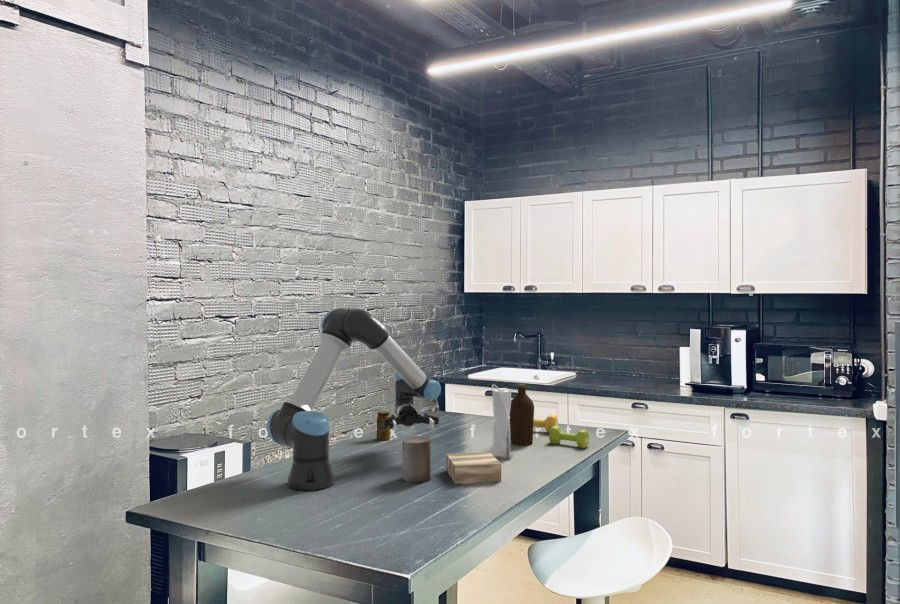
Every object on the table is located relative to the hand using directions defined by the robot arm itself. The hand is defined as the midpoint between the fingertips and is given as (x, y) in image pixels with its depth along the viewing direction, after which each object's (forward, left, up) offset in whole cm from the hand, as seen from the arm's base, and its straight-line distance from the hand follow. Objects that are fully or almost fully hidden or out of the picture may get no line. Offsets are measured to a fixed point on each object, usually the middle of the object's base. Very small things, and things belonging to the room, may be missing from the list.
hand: (414, 426), depth 228 cm
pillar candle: (-8, -7, -16) cm, 19 cm away
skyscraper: (+35, -16, -16) cm, 42 cm away
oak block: (+7, -21, -16) cm, 27 cm away
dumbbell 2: (+68, -30, -16) cm, 76 cm away
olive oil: (+59, -12, -16) cm, 63 cm away
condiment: (+29, +40, -16) cm, 52 cm away
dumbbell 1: (+84, -7, -16) cm, 85 cm away
